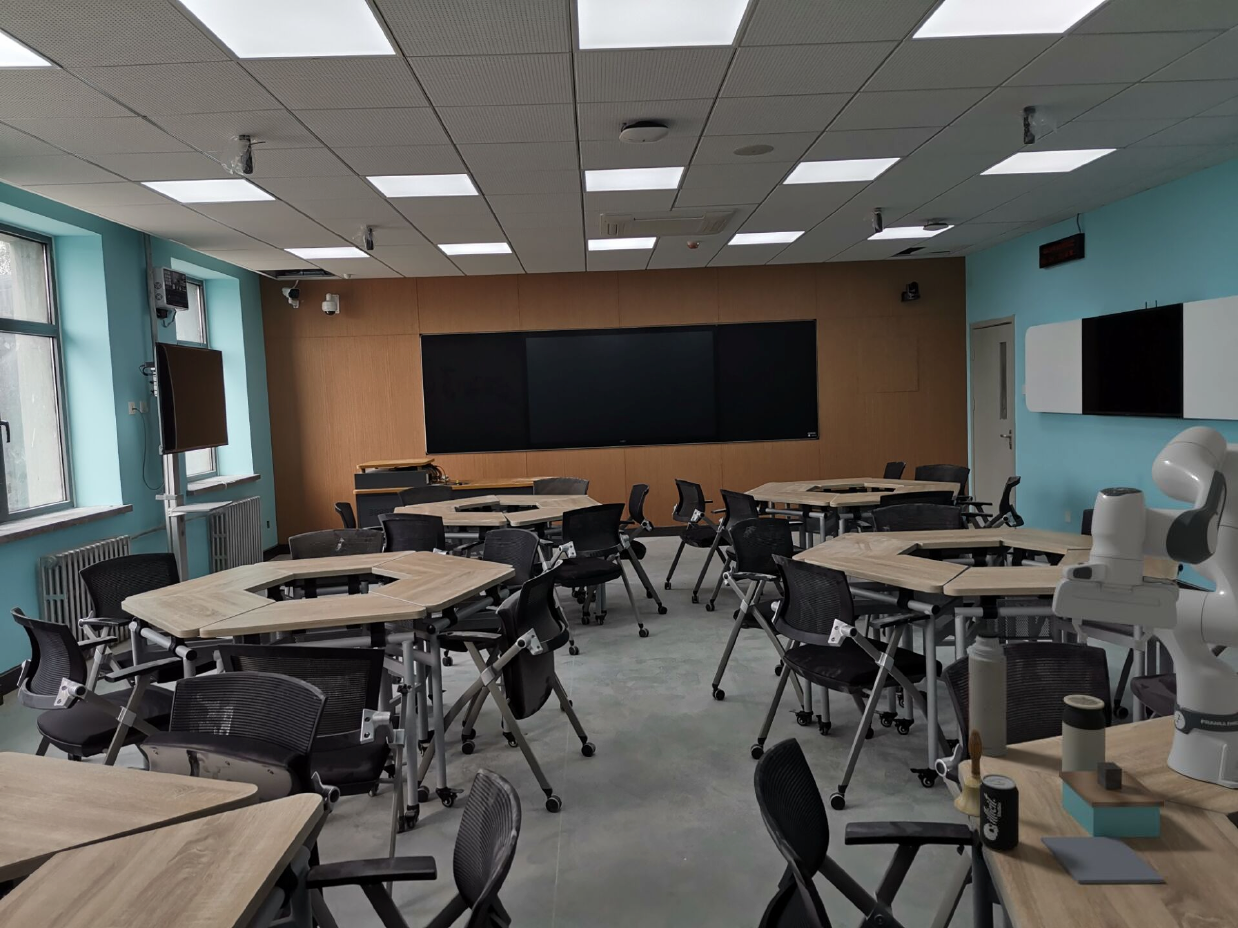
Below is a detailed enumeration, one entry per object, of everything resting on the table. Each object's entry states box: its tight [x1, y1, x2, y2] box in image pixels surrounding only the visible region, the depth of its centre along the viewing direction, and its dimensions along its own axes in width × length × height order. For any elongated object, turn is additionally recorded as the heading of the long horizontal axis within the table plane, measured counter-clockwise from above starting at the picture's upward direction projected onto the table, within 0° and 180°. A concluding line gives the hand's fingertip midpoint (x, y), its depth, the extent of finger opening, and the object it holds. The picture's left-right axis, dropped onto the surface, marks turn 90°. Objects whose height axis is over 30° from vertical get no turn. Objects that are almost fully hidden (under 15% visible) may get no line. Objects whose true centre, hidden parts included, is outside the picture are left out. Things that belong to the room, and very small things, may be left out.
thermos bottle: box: [968, 629, 1007, 758], centre depth 196 cm, size 8×8×28 cm
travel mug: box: [1061, 694, 1107, 772], centre depth 178 cm, size 8×8×18 cm
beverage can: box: [979, 773, 1020, 852], centre depth 156 cm, size 7×7×12 cm
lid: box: [1058, 761, 1165, 808], centre depth 163 cm, size 13×13×5 cm
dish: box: [1061, 780, 1161, 838], centre depth 163 cm, size 12×12×6 cm
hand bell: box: [953, 730, 983, 818], centre depth 170 cm, size 8×8×16 cm
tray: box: [1040, 836, 1164, 884], centre depth 150 cm, size 14×14×1 cm
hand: (1110, 646), depth 159 cm, fingers open, 8 cm apart
